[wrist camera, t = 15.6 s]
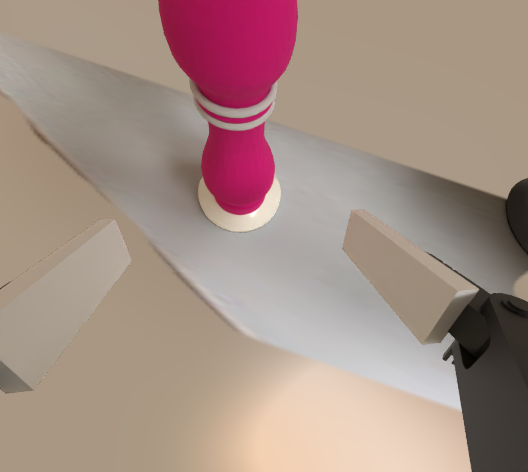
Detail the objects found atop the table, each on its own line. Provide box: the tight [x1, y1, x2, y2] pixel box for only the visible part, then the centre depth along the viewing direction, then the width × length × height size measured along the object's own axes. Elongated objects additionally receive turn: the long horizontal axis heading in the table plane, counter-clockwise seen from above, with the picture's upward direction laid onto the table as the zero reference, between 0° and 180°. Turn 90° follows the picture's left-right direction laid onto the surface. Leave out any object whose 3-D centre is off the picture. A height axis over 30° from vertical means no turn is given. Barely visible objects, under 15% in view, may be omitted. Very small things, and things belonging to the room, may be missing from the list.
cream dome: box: [198, 174, 281, 233], centre depth 25 cm, size 10×10×1 cm
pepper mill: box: [158, 0, 298, 215], centre depth 15 cm, size 7×7×20 cm
